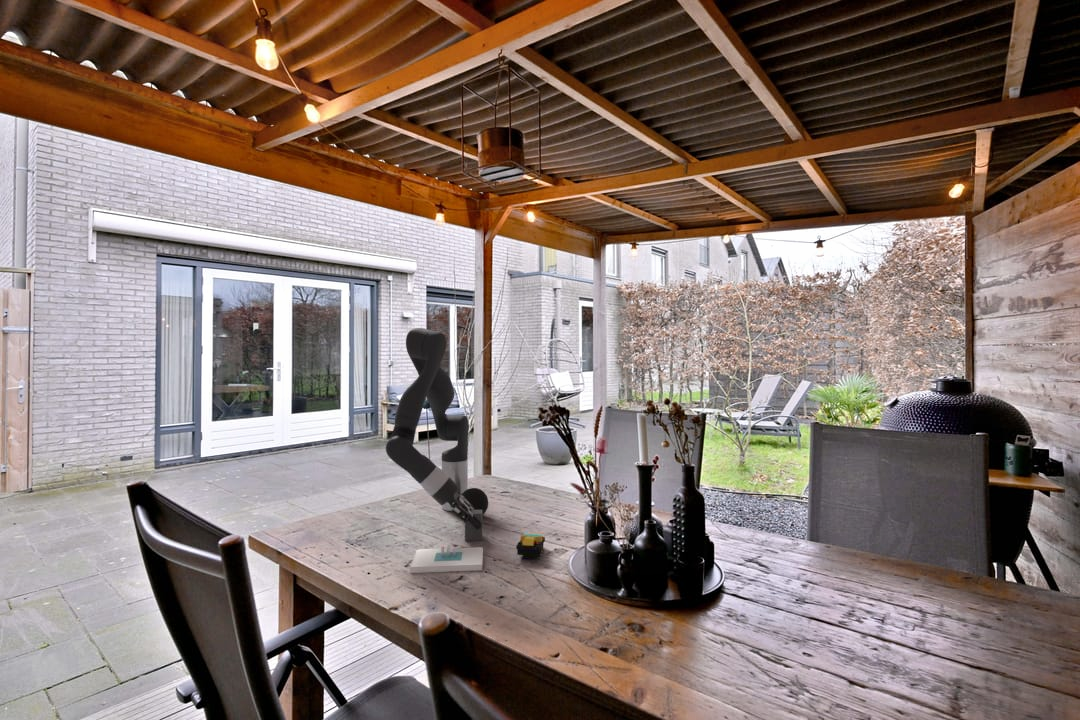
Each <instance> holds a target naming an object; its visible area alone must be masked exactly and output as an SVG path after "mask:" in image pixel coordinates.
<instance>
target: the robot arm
mask: <svg viewBox="0 0 1080 720" xmlns="http://www.w3.org/2000/svg"><path fill="white" fill-rule="evenodd" d="M447 342H448V340H447V336H446V335H445V334H444V333H443V332H440V331H437V330H433V329H427V328H423V327H413V328H411V329H410V330H409V331H408V333H407V334H406V338H405V347H406V352H407V354H408V357H409V358H410V361H411V362H412V363H413V367H415V370H416V372H417V374H418V377H417V378H416V379H415V380H414V381H413V382H412V383H411V384H410V385H408V387H407V388H406V389H405V390H404V392H403V394H402V396H401V397H400V399H399V402H398V406H397V409H396V414H395V416H394V426H393V430H392V432H391V436H390V438H389V440H388V441H387V442H386V445H385V452H386V454H387V456H388V457H389V458H390V460H392V461H393V463H395V464H396V465H397V466H399V467H400V468H401V469H403V470H404V471H406V472H407V473H408V474H409V475H410V476H411V478H413V479H414V481H416V482H417V483H418V484H420V486H421V487H422V488H423V490H424V491H426V493H427V494H429V496H431V498H433V499H434V500H435V502H437V503H438V505H440V507H441V509H442V510H444V511H448V512H449V511H450V512H452V513H453V514H454V515H456V517H458V518H459V519H461V520H462V521H463V522H464V523H465V522H469V523H470V524H471V525H472V526H474V527H475V528H476V529H477V530H478V529H479V528H480V527H481V526H482V527H483V522H484V521H483V518H482V523H481V522H480V521H479V520H478V519H477V518H476V517H475V516H474V515H473V514H472V513H471V512H470V511H469V510H474V508H473V506H472V505H471V504H470V503H469V502H468V500H467V499H466V498H465V497H464V496H463V494H462V493H463V492H464V491H466V490H467V489H469V480H468V478H469V477H468V474H469V472H468V471H469V468H468V465H469V463H468V458H469V457H468V455H469V451H468V450H469V428H470V427H469V426H470V425H469V424H470V423H469V419H468V417H467V416H466V415H464V414H446V412H447V410H448V409H449V407H450V406H451V405H452V403H453V400H454V398H455V390H454V389H455V388H454V386H453V382H452V380H451V377H450V376H449V375H448V374H447V372H446V371H445V370H444V369H443V368H442V367H441V366H440V365H441V363H442V362H443V359H444V357H445V353H446V351H447V347H448V346H447V345H448V343H447ZM426 399H427V402H428V404H429V406H430V409H431V413H432V416H433V421H434V425H435V429H436V433H437V436H438V438H439V439H440V440H441V441H444V442H445V441H446V442H457V445H456V446H454V447H453V448H449V449H446V450H444V451H443V452H442V453H441V468H439V467H438V466H437V465H436V464H435V463H434V462H433V461H432V460H431V459H430V458H428V457H427V456H426V455H424V454H422V453H421V452H420V451H419V450H418V449H417V448H416V447H414V446H413V445H414V441H415V437H416V433H417V427H418V425H419V422H420V419H421V415H422V412H423V409H424V408H423V407H424V405H425V402H426ZM465 514H466V515H467V516H465Z"/></svg>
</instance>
